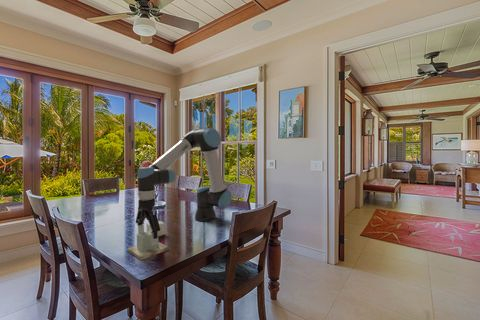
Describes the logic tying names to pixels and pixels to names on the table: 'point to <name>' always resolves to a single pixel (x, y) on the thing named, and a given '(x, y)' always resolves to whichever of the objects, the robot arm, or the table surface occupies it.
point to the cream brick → (162, 228)
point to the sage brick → (145, 241)
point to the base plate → (148, 253)
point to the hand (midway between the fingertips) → (147, 241)
